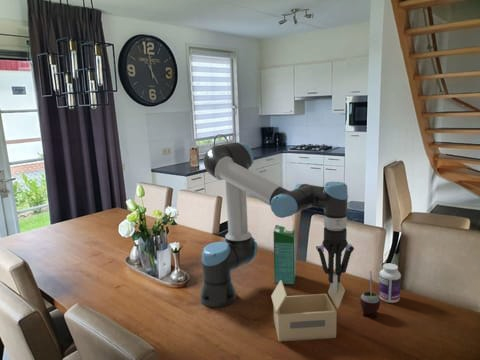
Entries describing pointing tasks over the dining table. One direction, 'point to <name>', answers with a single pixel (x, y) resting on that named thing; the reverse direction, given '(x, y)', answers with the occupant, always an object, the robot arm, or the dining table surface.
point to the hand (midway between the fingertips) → (334, 290)
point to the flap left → (278, 296)
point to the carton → (305, 318)
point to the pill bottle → (389, 283)
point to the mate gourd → (370, 301)
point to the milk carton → (284, 255)
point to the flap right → (337, 295)
